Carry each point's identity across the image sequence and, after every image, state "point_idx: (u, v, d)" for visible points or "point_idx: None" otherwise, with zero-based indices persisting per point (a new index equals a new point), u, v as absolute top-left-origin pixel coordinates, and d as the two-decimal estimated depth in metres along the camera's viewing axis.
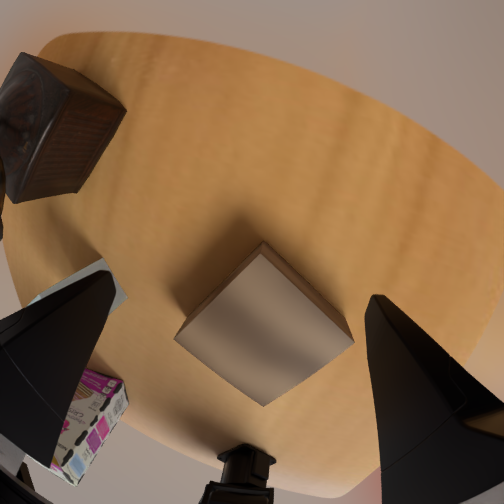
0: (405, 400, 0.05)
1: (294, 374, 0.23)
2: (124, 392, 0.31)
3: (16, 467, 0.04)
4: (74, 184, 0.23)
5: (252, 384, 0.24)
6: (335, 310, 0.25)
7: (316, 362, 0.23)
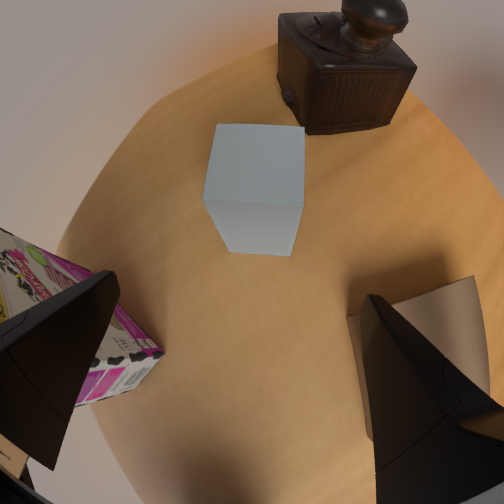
0: (399, 401, 0.05)
1: None
2: (151, 368, 0.21)
3: (20, 470, 0.04)
4: (322, 124, 0.24)
5: None
6: None
7: None
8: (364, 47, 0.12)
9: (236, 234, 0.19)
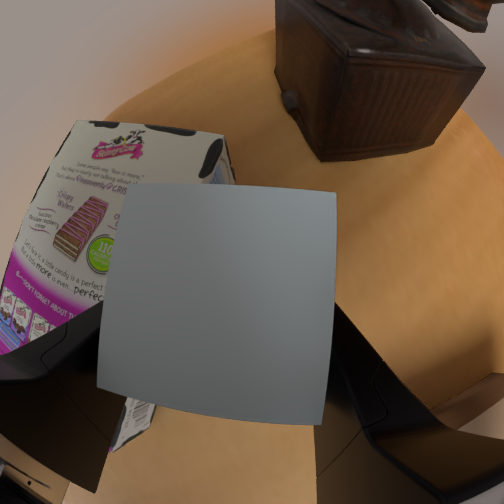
0: (330, 404, 0.05)
1: None
2: (139, 431, 0.12)
3: (61, 498, 0.04)
4: (343, 146, 0.16)
5: None
6: None
7: None
8: (464, 14, 0.03)
9: None
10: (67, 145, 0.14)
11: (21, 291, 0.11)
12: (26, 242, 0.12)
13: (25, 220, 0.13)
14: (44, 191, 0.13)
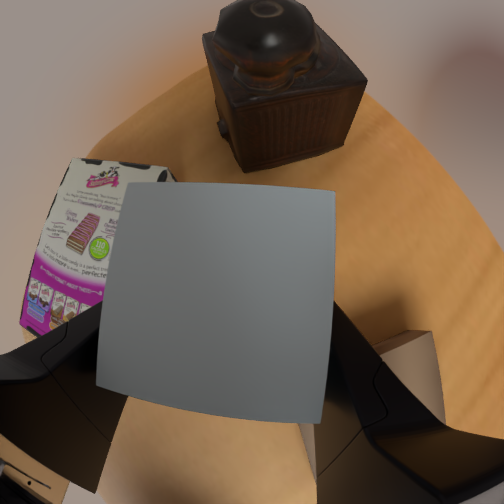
0: (330, 404, 0.05)
1: None
2: None
3: (61, 498, 0.04)
4: (257, 160, 0.23)
5: None
6: None
7: None
8: (262, 88, 0.10)
9: None
10: (68, 177, 0.21)
11: (44, 279, 0.18)
12: (46, 246, 0.19)
13: (44, 231, 0.20)
14: (56, 210, 0.20)
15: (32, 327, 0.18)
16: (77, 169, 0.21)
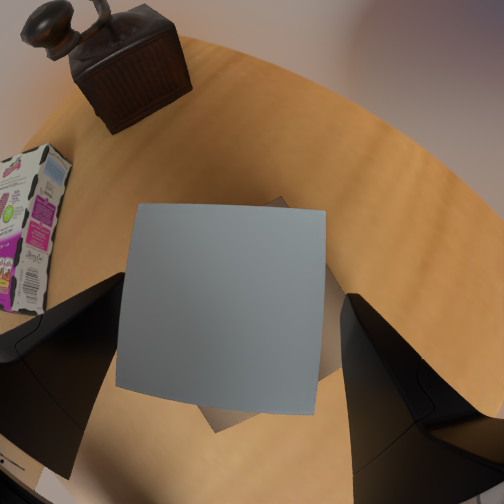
0: (373, 403, 0.05)
1: None
2: (33, 310, 0.19)
3: (35, 481, 0.04)
4: (117, 120, 0.24)
5: None
6: None
7: None
8: (58, 53, 0.11)
9: None
10: None
11: None
12: None
13: None
14: None
15: None
16: None
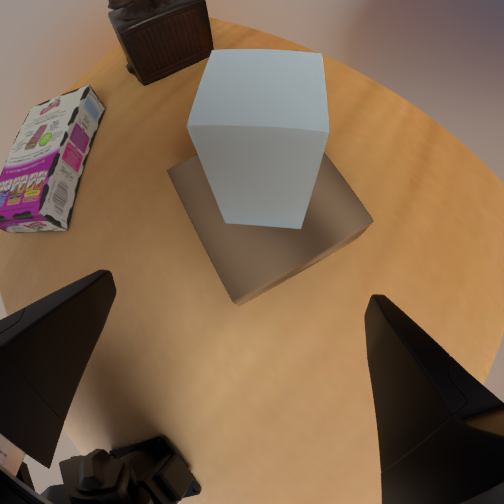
0: (405, 400, 0.05)
1: (293, 246, 0.18)
2: (58, 220, 0.22)
3: (16, 467, 0.04)
4: (150, 72, 0.27)
5: (232, 250, 0.18)
6: None
7: (326, 234, 0.18)
8: (119, 4, 0.14)
9: (233, 191, 0.14)
10: (28, 117, 0.24)
11: (8, 176, 0.21)
12: (11, 158, 0.22)
13: (10, 152, 0.22)
14: (19, 137, 0.23)
15: None
16: (34, 111, 0.24)
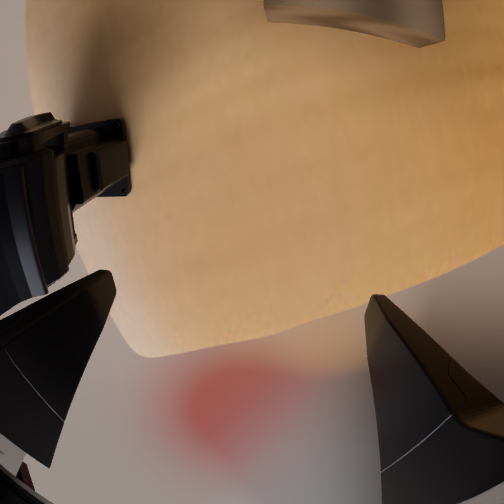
0: (405, 400, 0.05)
1: None
2: None
3: (16, 467, 0.04)
4: None
5: None
6: None
7: (393, 11, 0.10)
8: None
9: None
10: None
11: None
12: None
13: None
14: None
15: None
16: None
